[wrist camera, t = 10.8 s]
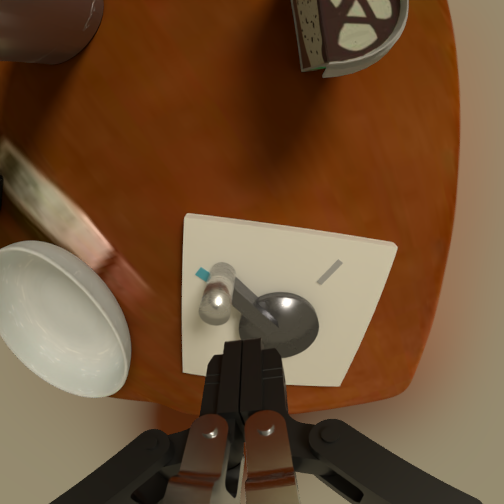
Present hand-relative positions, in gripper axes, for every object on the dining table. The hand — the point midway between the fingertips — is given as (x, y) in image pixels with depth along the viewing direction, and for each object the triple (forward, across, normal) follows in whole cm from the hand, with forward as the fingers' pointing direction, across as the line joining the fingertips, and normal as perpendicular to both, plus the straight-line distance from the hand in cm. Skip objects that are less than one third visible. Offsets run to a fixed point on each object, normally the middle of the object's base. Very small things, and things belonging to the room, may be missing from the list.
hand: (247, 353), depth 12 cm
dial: (+15, +1, +9) cm, 17 cm away
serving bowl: (+17, +24, +6) cm, 30 cm away
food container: (+17, -10, -16) cm, 25 cm away
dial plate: (+16, -1, +11) cm, 20 cm away
